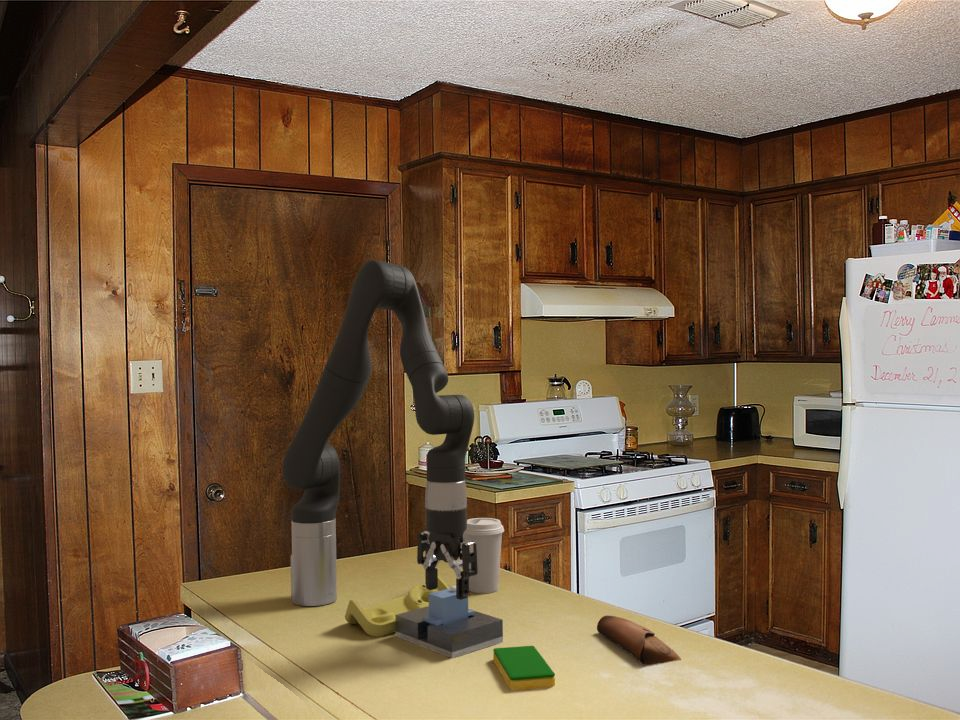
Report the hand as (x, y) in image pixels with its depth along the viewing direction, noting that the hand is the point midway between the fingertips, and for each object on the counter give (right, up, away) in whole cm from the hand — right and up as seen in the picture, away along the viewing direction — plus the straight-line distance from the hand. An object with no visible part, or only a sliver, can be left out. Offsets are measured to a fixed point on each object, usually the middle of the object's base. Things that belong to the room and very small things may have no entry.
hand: (446, 593), depth 160 cm
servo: (0, -7, 0) cm, 7 cm away
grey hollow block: (0, -8, 0) cm, 8 cm away
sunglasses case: (+34, -9, -5) cm, 35 cm away
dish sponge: (+13, -9, -17) cm, 23 cm away
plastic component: (-9, -9, +10) cm, 17 cm away
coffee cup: (+7, -8, +33) cm, 35 cm away
